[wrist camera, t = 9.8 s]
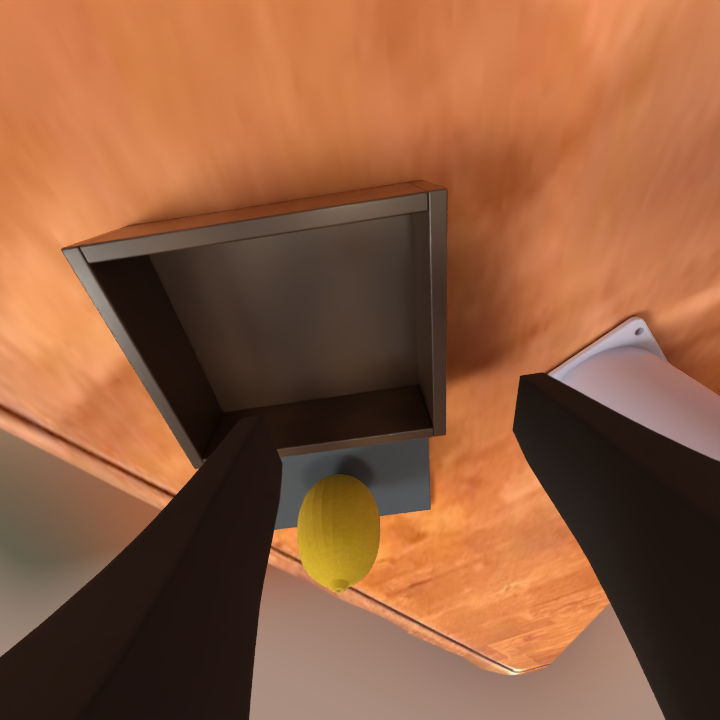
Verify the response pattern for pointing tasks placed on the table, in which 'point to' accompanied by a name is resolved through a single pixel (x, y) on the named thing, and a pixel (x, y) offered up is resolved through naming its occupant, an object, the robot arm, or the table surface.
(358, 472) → the placemat
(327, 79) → the table surface
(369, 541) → the lemon
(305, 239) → the dark brown shallow box
